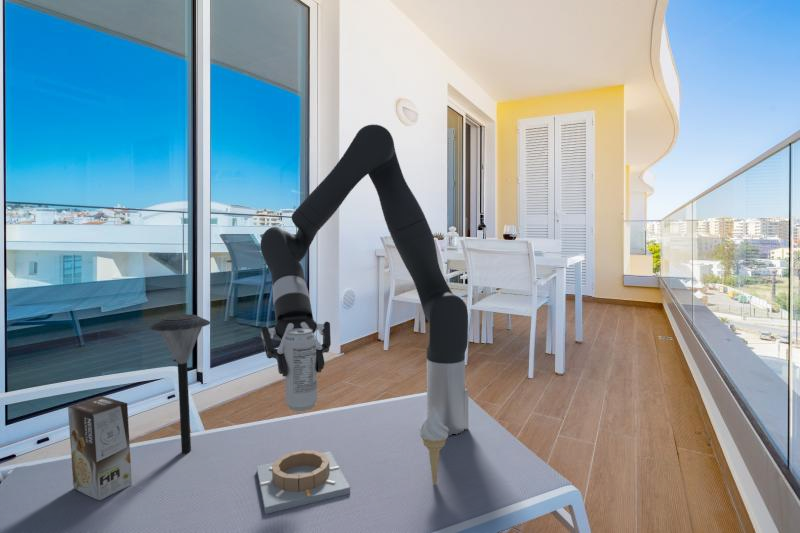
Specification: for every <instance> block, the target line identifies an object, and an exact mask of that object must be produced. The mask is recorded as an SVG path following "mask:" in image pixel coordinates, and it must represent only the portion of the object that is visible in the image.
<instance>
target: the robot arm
mask: <svg viewBox="0 0 800 533" xmlns="http://www.w3.org/2000/svg"><path fill="white" fill-rule="evenodd" d="M395 147H396V146H395V142H394V139H393V136H392V133H391V132H390V130H388V129H387V127H385V126H382V125H380V124H377V123H376V124H375V123H372V124H367V125H364V126H363V127H361V128H360V129H359V130H358V131H357V132H356V134H355V136H354V137H353V138H352V141H351V143H350V144H349V146H348V147H347V149H345V150H346V151H345V152H344V153H343V155H342V156H341V158H340V159H339V160H338V162H337V163H336V165H335V166H334V167H333V168H332V170H331V171H330V172H329V173H328V174H327V176H325V178H323V180H322V181H321V182H320V183H319V184H318V185H317V186H316V187H315V189H314V190H313V191H311V193H310V194H309V195H307V197H306V198H305V199H304V200H303V202H301V204H300V205H299V206H298V207H297V208H296V209H295V210H294V211H293V213H292V215H291V221H292V223H293V224H294V226H295V227H296V228H297V231H296V234H295V235H293V233H291V232H289V231H287V230H286V229H285V228H282V227H279V226H272V227H269V228H268V229H267V230H265V231H264V232H263V234H262V236H261V239H260V250H261V254H262V258H264V262H265V263H266V266H267V268H268V270H269V272H270V275H271V283H272V303H273V309H274V316H275V317H274V319H275V325H274V327H270V328H269V327H268V326H262V328H261V334H260V337H261V340H262V344H263V347H264V352H265V355H266V358H267V359H276V362H277V370H278V374H279V375H281V376H282V377H283V378H285V376H287V365H286V359H285V354H284V339H285V337H286V335H287V331H288V330H291V329H296V328H309V329H312V330H313V331H312V333H313V334H314V336H315V338H316V363H317V374H318V373H321V372H322V370H323V369H324V367H325V359H324V358H325V357H324V353H329V352H330V348H331V345H332V344H331V342H332V341H331V323H330V322H329V321H324V323H317V321H315V320H314V316H313V310H312V304H311V300H310V293H309V289H308V286H307V284H306V280H305V279H306V278H305V273H304V268H303V267H302V264H301V263H300V262H301V261H302V260H303V259H305V256H306V254H307V252H308V250H309V248H310V246H311V244H312V242H313V241H314V239H315V236H317V233H319V231H320V229H322V228H323V227H324V225H325V224H326V223H327V222H328V221H329V220H330V219H331V217H332V216H333V215H334V214H335V213H336V211H337V210H339V208H340V207H341V205H342V204H343V202H344V201H345V200H346V198H347V197H348V195H349V194H350V193H351V191H352V190H353V189H354V188H355V187H356V186H357V184H359V182H361V180H363V178H365V177H366V176H367V175H368V176H369V178H370V180H371V183H372V184H373V186H374V188H375V190H376V193H377V196H378V200H379V202H380V206H381V210H382V213H383V214H382V215H383V218H384V221H385V224H386V226H387V229H388V232H389V234H390V237H391V239H392V241H393V244H394V245H395V248H396V251H397V252H398V254H399V256H400V258H401V260H402V262H403V264H404V266H405V268H406V270H407V272H408V273H409V275H410V277H411V279H412V281H413V283H414V286H415V288H416V292H417V295H418V298H419V300H420V304H421V307H422V311H423V312H422V313H423V315H424V317H425V319H426V321H427V322H428V323H429V341H428V342H429V343H428V345H427V348H426V419H427V418H428V416H429V415H430V413H431V412H432V410H433V408H435V409H436V411H437V413H438V415H439V417H440V418H441V419H442V420H443V422H444V423H445V424H444V425H445V426H446V427H448V429H449V432H447V433H448V436H453V435H452V434H456V435H459V434H461V433H463V432H464V431H465V430H468V429H469V390H468V388H466V351H467V347H468V341H469V340H468V336H469V314H468V307H467V304H466V303H465V301H464V300H463V299H462V298H461V297H460V296H458V295H456V294H454V293H453V292H452V290H451V288H450V286H449V284H448V283H447V281H446V279H445V277H444V275H443V273H442V271H441V267H440V264H439V257H438V252H437V246H436V243H435V242H436V241H435V238H434V234H433V231H432V230H431V227H430V224H429V223H428V221H427V218H426V215H425V214H424V211H423V210H422V207H421V205H420V204H419V201H418V200H417V198H416V197H415V195H414V193H413V191H412V190H411V188H410V187H409V185H408V183H407V181H406V179H405V177H404V175H403V172H402V168H401V166H400V162H399V159H398V156H397V151H396V149H395ZM316 331H318V332H319V335H320V336H322V344H321V343H320V341H319V340H318V338H317V336H316V335H315V332H316ZM274 335H276V337H278V338H279V339H280V343H279V346H278V347H277V348H274V345H273V342H272V339H273V338H274ZM467 428H468V429H467ZM464 429H465V430H464ZM462 431H463V432H462ZM460 432H461V433H460ZM458 433H459V434H458Z"/></svg>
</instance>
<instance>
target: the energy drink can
mask: <svg viewBox="0 0 800 533" xmlns="http://www.w3.org/2000/svg"><path fill="white" fill-rule="evenodd" d="M312 331H313V330H312V329H309V328H296V329H291V330H288V331H287V335H286V337H285V339H284V354H285V359H286V365H287V376H284V382H285V383H284V385H285V386H284V387H285V405H286V406H288V408H289V410H290V411H294V412H305V411H309V410H311V409H313V408H314V407H315V404H317V403H318V373H317V363H316V338H317V337H316V338H315V336H316V335H315V333H314V334H313V333H312ZM314 335H315V336H314Z"/></svg>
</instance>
